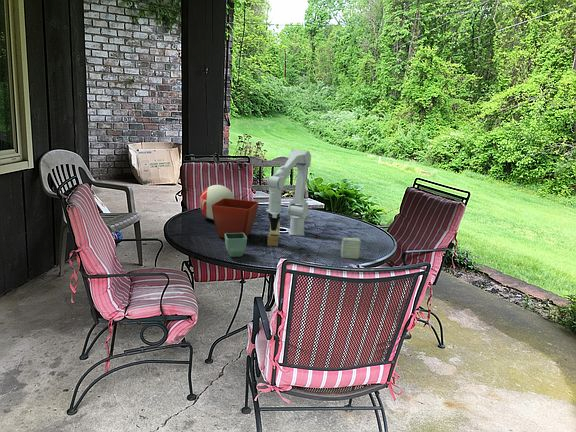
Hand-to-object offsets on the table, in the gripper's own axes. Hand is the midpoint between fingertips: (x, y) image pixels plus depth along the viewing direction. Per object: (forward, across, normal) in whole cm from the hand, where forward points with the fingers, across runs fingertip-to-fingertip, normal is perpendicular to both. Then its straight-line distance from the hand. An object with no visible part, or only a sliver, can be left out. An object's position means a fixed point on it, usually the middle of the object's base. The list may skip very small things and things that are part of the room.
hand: (273, 229), depth 225 cm
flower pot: (+8, +19, -17) cm, 27 cm away
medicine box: (+8, +15, +35) cm, 39 cm away
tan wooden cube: (+8, 0, 0) cm, 8 cm away
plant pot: (+8, -12, -19) cm, 24 cm away
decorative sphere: (+8, -43, -31) cm, 54 cm away
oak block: (+2, 0, +1) cm, 2 cm away
